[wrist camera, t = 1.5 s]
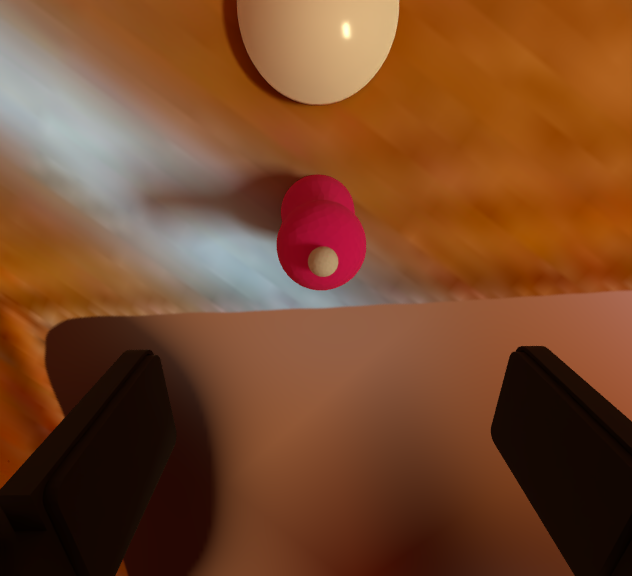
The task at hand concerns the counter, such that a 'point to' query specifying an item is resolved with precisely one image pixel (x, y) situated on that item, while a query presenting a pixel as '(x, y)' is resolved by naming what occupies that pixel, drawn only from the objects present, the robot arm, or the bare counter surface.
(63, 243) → the counter surface
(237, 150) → the counter surface
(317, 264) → the pepper mill
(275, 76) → the disc
